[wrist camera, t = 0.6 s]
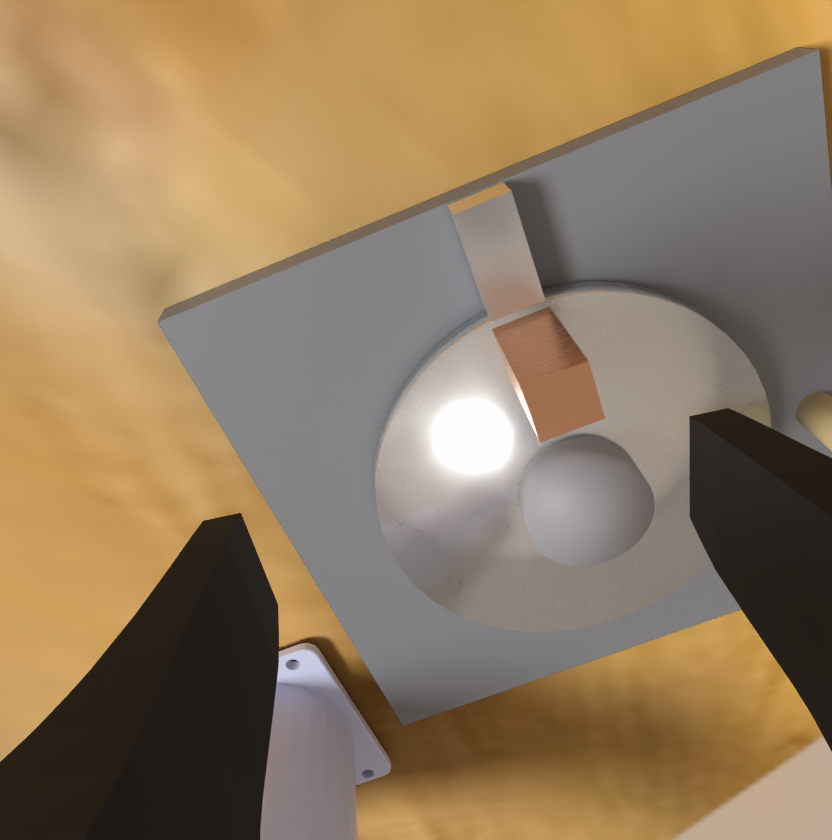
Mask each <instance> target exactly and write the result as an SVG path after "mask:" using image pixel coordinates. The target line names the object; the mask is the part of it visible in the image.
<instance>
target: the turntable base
mask: <svg viewBox="0 0 832 840" xmlns="http://www.w3.org/2000/svg"><path fill="white" fill-rule="evenodd" d="M502 182H503V183H504V184H505V185H506V186H507V187H508V188H509V189H510V190H511V191H512V194H513V197H514V200H515V204H516V207H517V210H518V213H519V217H520V220H521V223H522V226H523V230H524V233H525V236H526V239H527V243H528V246H529V249H530V252H531V256H532V259H533V262H534V265H535V269H536V272H537V275H538V278H539V281H540V285H541V288H544V287H549V286H554V285H559V284H564V283H575V282H589V281H600V282H617V283H625V284H630V285H635V286H640V287H646V288H649V289H652V290H655V291H658V292H661V293H663V294H666V295H669V296H672V297H674V298H676V299H678V300H679V301H681V302H683V303H685V304H687V305H689V306H691V307H692V308H694V309H695V310H697V311H698V312H699V313H701V314H702V315H703V316H705V317H706V318H707V319H708V320H710V321H711V322H712V323H714V324H715V325H716V326H717V327H718V328H720V329H721V330H722V331H723V332H724V333H726V334H727V335H728V336H729V337H730V338H731V339H732V340H733V341H734V342H735V343H736V345H737V346H738V347H739V348H740V349H741V350H742V351H743V352H744V353H745V355H746V356H747V358H748V359H749V361H750V362H751V364H752V365H753V367H754V368H755V370H756V372H757V374H758V376H759V378H760V381H761V383H762V385H763V388H764V390H765V393H766V397H767V401H768V405H769V410H770V415H771V428H772V429H774V430H776V431H778V432H780V433H782V434H784V435H786V436H788V437H790V438H792V439H794V440H796V441H798V442H800V443H802V444H804V445H806V446H808V447H810V448H812V449H814V450H816V451H818V452H820V453H822V454H824V455H826V456H828V457H831V458H832V189H831V177H830V166H829V154H828V143H827V131H826V120H825V108H824V97H823V85H822V74H821V62H820V51H819V50H818V49H808V48H794V49H792V50H790V51H787V52H785V53H782V54H780V55H778V56H775V57H773V58H770V59H768V60H765V61H763V62H761V63H758V64H756V65H753V66H751V67H749V68H746V69H744V70H741V71H739V72H736V73H734V74H732V75H729V76H727V77H724V78H722V79H720V80H717V81H715V82H712V83H710V84H707V85H705V86H703V87H700V88H698V89H695V90H693V91H690V92H688V93H686V94H683V95H681V96H678V97H676V98H674V99H671V100H669V101H666V102H664V103H661V104H659V105H657V106H654V107H652V108H649V109H647V110H645V111H642V112H640V113H637V114H635V115H632V116H630V117H628V118H625V119H623V120H620V121H618V122H616V123H613V124H611V125H608V126H606V127H603V128H601V129H599V130H596V131H594V132H591V133H589V134H586V135H584V136H582V137H579V138H577V139H574V140H572V141H570V142H567V143H565V144H562V145H560V146H557V147H555V148H553V149H550V150H548V151H545V152H543V153H541V154H538V155H536V156H533V157H531V158H528V159H526V160H524V161H521V162H519V163H516V164H514V165H511V166H509V167H507V168H504V169H502V170H499V171H497V172H495V173H492V174H490V175H487V176H485V177H482V178H480V179H478V180H475V181H473V182H470V183H468V184H466V185H463V186H461V187H458V188H456V189H453V190H451V191H449V192H446V193H444V194H441V195H439V196H437V197H434V198H432V199H429V200H427V201H424V202H422V203H420V204H417V205H415V206H412V207H410V208H407V209H405V210H403V211H400V212H398V213H395V214H393V215H391V216H388V217H386V218H383V219H381V220H378V221H376V222H374V223H371V224H369V225H366V226H364V227H362V228H359V229H357V230H354V231H352V232H349V233H347V234H345V235H342V236H340V237H337V238H335V239H333V240H330V241H328V242H325V243H323V244H320V245H318V246H316V247H313V248H311V249H308V250H306V251H303V252H301V253H299V254H296V255H294V256H291V257H289V258H287V259H284V260H282V261H279V262H277V263H274V264H272V265H270V266H267V267H265V268H262V269H260V270H258V271H255V272H253V273H250V274H248V275H245V276H243V277H241V278H238V279H236V280H233V281H231V282H229V283H226V284H224V285H221V286H219V287H216V288H214V289H212V290H209V291H207V292H204V293H202V294H199V295H197V296H195V297H192V298H190V299H187V300H185V301H183V302H180V303H178V304H175V305H173V306H170V307H168V308H166V309H164V311H163V312H162V314H161V316H160V318H159V320H158V322H157V323H158V325H159V326H160V328H161V330H162V331H163V333H164V335H165V336H166V338H167V339H168V341H169V343H170V344H171V346H172V348H173V349H174V351H175V353H176V354H177V356H178V358H179V359H180V361H181V362H182V364H183V366H184V367H185V369H186V371H187V372H188V374H189V376H190V377H191V379H192V381H193V382H194V384H195V385H196V387H197V389H198V390H199V392H200V394H201V395H202V397H203V399H204V400H205V402H206V403H207V405H208V407H209V408H210V410H211V412H212V413H213V415H214V417H215V418H216V420H217V422H218V423H219V425H220V426H221V428H222V430H223V431H224V433H225V435H226V436H227V438H228V440H229V441H230V443H231V445H232V446H233V448H234V449H235V451H236V453H237V454H238V456H239V458H240V459H241V461H242V463H243V464H244V466H245V468H246V469H247V471H248V472H249V474H250V476H251V477H252V479H253V481H254V482H255V484H256V486H257V487H258V489H259V490H260V492H261V494H262V495H263V497H264V499H265V500H266V502H267V504H268V505H269V507H270V509H271V510H272V512H273V513H274V515H275V517H276V518H277V520H278V522H279V523H280V525H281V527H282V528H283V530H284V532H285V533H286V535H287V536H288V538H289V540H290V541H291V543H292V545H293V546H294V548H295V550H296V551H297V553H298V554H299V556H300V558H301V559H302V561H303V563H304V564H305V566H306V568H307V569H308V571H309V573H310V574H311V576H312V577H313V579H314V581H315V582H316V584H317V586H318V587H319V589H320V591H321V592H322V594H323V596H324V597H325V599H326V600H327V602H328V604H329V605H330V607H331V609H332V610H333V612H334V614H335V615H336V617H337V618H338V620H339V622H340V623H341V625H342V627H343V628H344V630H345V632H346V633H347V635H348V637H349V638H350V640H351V641H352V643H353V645H354V646H355V648H356V650H357V651H358V653H359V655H360V656H361V658H362V660H363V661H364V663H365V664H366V666H367V668H368V669H369V671H370V673H371V674H372V676H373V678H374V679H375V681H376V682H377V684H378V686H379V687H380V689H381V691H382V692H383V694H384V696H385V697H386V699H387V701H388V702H389V704H390V705H391V707H392V709H393V710H394V712H395V714H396V715H397V717H398V719H399V720H400V722H401V724H402V725H403V726H405V725H408V724H410V723H413V722H416V721H419V720H422V719H425V718H428V717H431V716H434V715H437V714H439V713H442V712H445V711H448V710H451V709H454V708H457V707H460V706H463V705H466V704H468V703H471V702H474V701H477V700H480V699H483V698H486V697H489V696H492V695H495V694H497V693H500V692H503V691H506V690H509V689H512V688H515V687H518V686H521V685H524V684H526V683H529V682H532V681H535V680H538V679H541V678H544V677H547V676H550V675H553V674H555V673H558V672H561V671H564V670H567V669H570V668H573V667H576V666H579V665H582V664H584V663H587V662H590V661H593V660H596V659H599V658H602V657H605V656H608V655H611V654H613V653H616V652H619V651H622V650H625V649H628V648H631V647H634V646H637V645H639V644H642V643H645V642H648V641H651V640H654V639H657V638H660V637H663V636H666V635H668V634H671V633H674V632H677V631H680V630H683V629H686V628H689V627H692V626H695V625H697V624H700V623H703V622H706V621H709V620H712V619H715V618H718V617H721V616H724V615H726V614H729V613H732V612H735V611H738V610H741V608H740V606H739V605H738V603H737V602H736V600H735V599H734V597H733V596H732V594H731V593H730V591H729V590H728V588H727V587H726V585H725V584H724V582H723V581H722V579H721V578H720V576H719V575H718V573H717V572H716V570H715V568H714V566H713V564H712V562H711V563H710V564H709V565H708V566H707V567H706V568H705V569H704V570H703V571H702V572H700V573H699V574H698V575H696V576H695V577H694V578H693V579H691V580H690V581H689V582H687V583H686V584H685V585H684V586H682V587H681V588H679V589H677V590H676V591H674V592H673V593H671V594H670V595H668V596H666V597H665V598H663V599H661V600H659V601H657V602H656V603H654V604H652V605H650V606H648V607H646V608H644V609H642V610H639V611H637V612H634V613H632V614H629V615H627V616H624V617H622V618H619V619H616V620H612V621H609V622H606V623H602V624H599V625H595V626H590V627H585V628H580V629H575V630H565V631H556V632H525V631H515V630H506V629H501V628H497V627H492V626H487V625H484V624H481V623H478V622H475V621H472V620H468V619H466V618H464V617H461V616H459V615H457V614H455V613H453V612H451V611H449V610H447V609H445V608H444V607H442V606H441V605H439V604H437V603H436V602H434V601H433V600H431V599H430V598H429V597H427V596H426V595H425V594H424V593H423V592H422V591H420V590H419V589H418V588H417V587H416V586H415V585H414V584H413V583H412V582H411V581H410V580H409V578H408V577H407V576H406V575H405V574H404V573H403V572H402V570H401V569H400V567H399V566H398V564H397V563H396V561H395V559H394V558H393V556H392V555H391V553H390V551H389V548H388V546H387V544H386V541H385V539H384V537H383V534H382V530H381V526H380V522H379V518H378V514H377V504H376V493H375V480H374V466H375V453H376V447H377V443H378V439H379V435H380V430H381V427H382V424H383V422H384V419H385V417H386V414H387V412H388V409H389V407H390V405H391V403H392V401H393V399H394V398H395V396H396V394H397V392H398V390H399V389H400V387H401V385H402V383H403V382H404V381H405V379H406V378H407V377H408V375H409V374H410V373H411V371H412V370H413V369H414V367H415V366H416V365H417V363H418V362H419V361H420V360H421V359H422V358H423V357H424V356H425V355H426V354H427V353H428V352H429V351H430V350H431V349H432V348H433V347H434V346H435V345H436V344H437V343H438V342H439V341H440V340H442V339H443V338H444V337H445V336H447V335H448V334H449V333H450V332H452V331H453V330H454V329H455V328H457V327H458V326H459V325H461V324H462V323H464V322H465V321H467V320H469V319H470V318H472V317H473V316H475V315H477V314H478V313H480V312H482V311H483V310H485V309H484V306H483V303H482V301H481V298H480V295H479V292H478V289H477V286H476V284H475V281H474V278H473V275H472V272H471V270H470V267H469V264H468V261H467V258H466V256H465V253H464V250H463V247H462V244H461V242H460V239H459V236H458V233H457V230H456V228H455V225H454V222H453V219H452V216H451V214H450V211H449V208H448V205H449V204H451V203H454V202H456V201H459V200H461V199H464V198H466V197H468V196H471V195H473V194H476V193H478V192H481V191H483V190H485V189H488V188H490V187H493V186H495V185H498V184H500V183H502ZM518 500H519V505H520V509H521V512H522V514H523V517H524V520H525V522H526V525H527V527H528V530H529V533H530V535H531V538H532V540H533V542H534V544H535V546H536V547H537V549H538V550H539V551H540V552H541V553H542V554H543V555H545V556H546V557H547V558H549V559H551V560H553V561H555V562H557V563H560V564H564V565H568V566H592V565H597V564H601V563H604V562H608V561H610V560H612V559H615V558H617V557H618V556H620V555H622V554H624V553H625V552H627V551H628V550H629V549H631V548H632V547H633V546H634V545H635V544H636V543H637V542H638V541H639V540H640V539H641V538H642V537H643V535H644V534H645V533H646V531H647V529H648V528H649V526H650V523H651V521H652V518H653V515H654V509H655V500H654V495H653V492H652V489H651V487H650V485H649V484H648V482H647V480H646V479H645V477H644V476H643V474H642V473H641V471H640V470H639V468H638V467H637V465H636V464H635V462H634V461H633V459H632V458H631V456H630V455H629V454H628V453H627V451H626V450H625V449H623V448H622V447H621V446H620V445H618V444H616V443H615V442H612V441H610V440H607V439H604V438H600V437H590V436H585V437H576V438H571V439H567V440H564V441H561V442H559V443H557V444H554V445H553V446H551V447H549V448H547V449H546V450H545V451H543V452H542V453H540V454H539V455H538V456H537V457H536V458H535V459H534V460H533V461H532V462H531V464H530V465H529V466H528V468H527V469H526V471H525V472H524V474H523V476H522V479H521V482H520V485H519V490H518Z"/></svg>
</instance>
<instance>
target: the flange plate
mask: <svg viewBox="0 0 832 840" xmlns="http://www.w3.org/2000/svg"><path fill="white" fill-rule="evenodd" d="M448 208H449V211H450V214H451V216H452V219H453V222H454V225H455V228H456V230H457V233H458V236H459V239H460V242H461V244H462V247H463V250H464V253H465V256H466V258H467V261H468V264H469V267H470V270H471V272H472V275H473V278H474V281H475V284H476V286H477V289H478V292H479V295H480V298H481V301H482V303H483V306H484V309H485V310H483V311H482V312H480V313H478V314H477V315H475V316H473V317H472V318H470V319H469V320H467V321H465V322H464V323H462V324H461V325H459V326H458V327H457V328H455V329H454V330H453V331H452V332H450V333H449V334H448V335H447V336H445V337H444V338H443V339H442V340H440V341H439V342H438V343H437V344H436V345H435V346H434V347H433V348H432V349H431V350H430V351H429V352H428V353H427V354H426V355H425V356H424V357H423V358H422V359H421V360H420V361H419V362H418V363H417V365H416V366H415V367H414V369H413V370H412V371H411V373H410V374H409V375H408V377H407V378H406V379H405V381H404V382H403V383H402V385H401V387H400V389H399V390H398V392H397V394H396V396H395V398H394V399H393V401H392V403H391V405H390V407H389V409H388V412H387V414H386V417H385V419H384V422H383V424H382V427H381V430H380V435H379V439H378V443H377V447H376V453H375V466H374V480H375V493H376V504H377V514H378V518H379V522H380V526H381V530H382V534H383V537H384V539H385V541H386V544H387V546H388V548H389V551H390V553H391V555H392V556H393V558H394V559H395V561H396V563H397V564H398V566H399V567H400V569H401V570H402V572H403V573H404V574H405V575H406V576H407V577H408V578H409V580H410V581H411V582H412V583H413V584H414V585H415V586H416V587H417V588H418V589H419V590H420V591H422V592H423V593H424V594H425V595H426V596H427V597H429V598H430V599H431V600H433V601H434V602H436V603H437V604H439V605H441V606H442V607H444V608H445V609H447V610H449V611H451V612H453V613H455V614H457V615H459V616H461V617H464V618H466V619H468V620H472V621H475V622H478V623H481V624H484V625H487V626H492V627H497V628H501V629H506V630H515V631H525V632H556V631H565V630H575V629H580V628H585V627H590V626H595V625H599V624H602V623H606V622H609V621H612V620H616V619H619V618H622V617H624V616H627V615H629V614H632V613H634V612H637V611H639V610H642V609H644V608H646V607H648V606H650V605H652V604H654V603H656V602H657V601H659V600H661V599H663V598H665V597H666V596H668V595H670V594H671V593H673V592H674V591H676V590H677V589H679V588H681V587H682V586H684V585H685V584H686V583H687V582H689V581H690V580H691V579H693V578H694V577H695V576H696V575H698V574H699V573H700V572H702V571H703V570H704V569H705V568H706V567H707V566H708V565H709V564H710V563H711V560H710V558H709V556H708V554H707V552H706V550H705V549H704V547H703V544H702V542H701V540H700V538H699V536H698V534H697V532H696V530H695V528H694V526H693V524H692V521H691V519H690V427H689V416H693V415H698V414H703V413H707V412H712V411H717V410H721V409H726V408H729V409H732V410H734V411H736V412H738V413H741V414H743V415H745V416H747V417H749V418H751V419H753V420H755V421H757V422H759V423H761V424H763V425H766V426H768V427H770V428H771V415H770V410H769V405H768V401H767V397H766V393H765V390H764V388H763V385H762V383H761V381H760V378H759V376H758V374H757V372H756V370H755V368H754V367H753V365H752V364H751V362H750V361H749V359H748V358H747V356H746V355H745V353H744V352H743V351H742V350H741V349H740V348H739V347H738V346H737V345H736V343H735V342H734V341H733V340H732V339H731V338H730V337H729V336H728V335H727V334H726V333H724V332H723V331H722V330H721V329H720V328H718V327H717V326H716V325H715V324H714V323H712V322H711V321H710V320H708V319H707V318H706V317H705V316H703V315H702V314H701V313H699V312H698V311H697V310H695V309H694V308H692V307H691V306H689V305H687V304H685V303H683V302H681V301H679V300H678V299H676V298H674V297H672V296H669V295H666V294H663V293H661V292H658V291H655V290H652V289H649V288H646V287H640V286H635V285H630V284H625V283H617V282H600V281H589V282H575V283H564V284H559V285H554V286H549V287H544V288H541V285H540V281H539V278H538V275H537V272H536V269H535V265H534V262H533V259H532V256H531V252H530V249H529V246H528V243H527V239H526V236H525V233H524V230H523V226H522V223H521V220H520V217H519V213H518V210H517V207H516V204H515V200H514V197H513V194H512V191H511V190H510V189H509V188H508V187H507V186H506V185H505V184H504V183H503V182H502V183H500V184H498V185H495V186H493V187H490V188H488V189H485V190H483V191H481V192H478V193H476V194H473V195H471V196H468V197H466V198H464V199H461V200H459V201H456V202H454V203H451V204H449V205H448ZM585 436H590V437H600V438H604V439H607V440H610V441H612V442H615V443H616V444H618V445H620V446H621V447H622V448H623V449H625V450H626V451H627V453H628V454H629V455H630V456H631V458H632V459H633V461H634V462H635V464H636V465H637V467H638V468H639V470H640V471H641V473H642V474H643V476H644V477H645V479H646V480H647V482H648V484H649V485H650V487H651V489H652V492H653V495H654V500H655V509H654V515H653V518H652V521H651V523H650V526H649V528H648V529H647V531H646V533H645V534H644V535H643V537H642V538H641V539H640V540H639V541H638V542H637V543H636V544H635V545H634V546H633V547H632V548H631V549H629V550H628V551H627V552H625V553H624V554H622V555H620V556H618V557H617V558H615V559H612V560H610V561H608V562H604V563H601V564H597V565H592V566H568V565H564V564H560V563H557V562H555V561H553V560H551V559H549V558H547V557H546V556H545V555H543V554H542V553H541V552H540V551H539V550H538V549H537V547H536V546H535V544H534V542H533V540H532V538H531V535H530V533H529V530H528V527H527V525H526V522H525V520H524V517H523V514H522V512H521V509H520V505H519V500H518V490H519V485H520V482H521V479H522V476H523V474H524V472H525V471H526V469H527V468H528V466H529V465H530V464H531V462H532V461H533V460H534V459H535V458H536V457H537V456H538V455H539V454H540V453H542V452H543V451H545V450H546V449H547V448H549V447H551V446H553V445H554V444H557V443H559V442H561V441H564V440H567V439H571V438H576V437H585Z"/></svg>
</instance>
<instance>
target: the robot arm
mask: <svg viewBox="0 0 832 840" xmlns="http://www.w3.org/2000/svg"><path fill="white" fill-rule="evenodd" d="M689 427H690V519H691V521H692V524H693V526H694V528H695V530H696V532H697V534H698V536H699V538H700V540H701V542H702V544H703V547H704V549H705V550H706V552H707V554H708V556H709V558H710V560H711V562H712V564H713V566H714V568H715V570H716V572H717V573H718V575H719V576H720V578H721V579H722V581H723V582H724V584H725V585H726V587H727V588H728V590H729V591H730V593H731V594H732V596H733V597H734V599H735V600H736V602H737V603H738V605H739V606H740V608H741V609H742V611H743V612H744V614H745V615H746V617H747V618H748V620H749V621H750V622H751V624H752V625H753V627H754V628H755V630H756V631H757V633H758V634H759V636H760V637H761V639H762V640H763V642H764V643H765V644H766V646H767V647H768V649H769V650H770V652H771V653H772V655H773V656H774V658H775V659H776V661H777V662H778V663H779V665H780V666H781V668H782V669H783V671H784V672H785V674H786V675H787V677H788V678H789V680H790V681H791V683H792V684H793V685H794V687H795V688H796V690H797V692H798V693H799V695H800V697H801V698H802V700H803V701H804V703H805V705H806V706H807V708H808V709H809V711H810V713H811V714H812V716H813V718H814V720H815V721H816V723H817V725H818V727H819V729H820V731H821V733H822V734H823V736H824V738H825V740H826V742H827V744H828V745H829V747H830V749H831V751H832V458H831V457H828V456H826V455H824V454H822V453H820V452H818V451H816V450H814V449H812V448H810V447H808V446H806V445H804V444H802V443H800V442H798V441H796V440H794V439H792V438H790V437H788V436H786V435H784V434H782V433H780V432H778V431H776V430H774V429H772V428H770V427H768V426H766V425H763V424H761V423H759V422H757V421H755V420H753V419H751V418H749V417H747V416H745V415H743V414H741V413H738V412H736V411H734V410H732V409H729V408H726V409H721V410H717V411H712V412H707V413H703V414H698V415H693V416H689ZM293 659H294V660H297V661H294V662H292V661H289V660H293ZM390 770H391V761H390V758H389V757H388V755H387V754H386V752H385V751H384V749H383V747H382V746H381V744H380V743H379V741H378V740H377V738H376V737H375V735H374V734H373V732H372V730H371V729H370V727H369V726H368V724H367V723H366V721H365V720H364V718H363V717H362V715H361V713H360V712H359V710H358V709H357V707H356V706H355V704H354V703H353V701H352V700H351V698H350V696H349V695H348V693H347V692H346V690H345V689H344V687H343V686H342V684H341V683H340V681H339V679H338V678H337V676H336V675H335V673H334V672H333V670H332V669H331V667H330V666H329V664H328V662H327V661H326V659H325V658H324V656H323V655H322V653H321V652H320V650H319V649H318V648H317V647H316V646H315V645H313V644H311V643H302V644H299V645H296V646H293V647H290V648H287V649H285V650H282V651H279V626H278V604H277V601H276V599H275V596H274V594H273V591H272V589H271V587H270V584H269V582H268V579H267V577H266V574H265V572H264V569H263V567H262V564H261V562H260V559H259V557H258V554H257V552H256V549H255V547H254V545H253V542H252V540H251V537H250V535H249V532H248V530H247V527H246V525H245V522H244V520H243V517H242V515H241V513H238V514H233V515H229V516H224V517H219V518H215V519H210V520H205V521H203V522H202V523H201V525H200V526H199V527H198V529H197V530H196V531H195V533H194V534H193V535H192V537H191V538H190V540H189V541H188V542H187V544H186V545H185V547H184V548H183V549H182V551H181V552H180V554H179V555H178V557H177V558H176V559H175V561H174V562H173V564H172V565H171V566H170V568H169V569H168V571H167V572H166V573H165V575H164V576H163V578H162V579H161V580H160V582H159V583H158V584H157V586H156V587H155V589H154V590H153V591H152V593H151V594H150V595H149V597H148V598H147V599H146V601H145V602H144V603H143V605H142V606H141V608H140V609H139V610H138V612H137V613H136V614H135V616H134V617H133V618H132V619H131V621H130V622H129V623H128V624H127V626H126V627H125V628H124V629H123V630H122V632H121V633H120V634H119V635H118V637H117V638H116V639H115V640H114V642H113V643H112V644H111V645H110V647H109V648H108V649H107V650H106V651H105V653H104V654H103V655H102V656H101V658H100V659H99V660H98V661H97V663H96V664H95V665H94V666H93V667H92V669H91V670H90V671H89V672H88V673H87V674H86V676H85V677H84V678H83V679H82V680H81V681H80V682H79V683H78V685H77V686H76V687H75V688H74V689H73V690H72V691H71V692H70V693H69V694H68V696H67V697H66V698H65V699H64V700H63V701H62V702H61V703H60V704H59V705H58V706H57V707H56V708H55V709H54V710H53V711H52V712H51V713H50V714H49V715H48V717H47V718H46V719H45V720H44V721H43V722H42V723H41V724H40V725H39V726H38V727H37V728H36V729H35V730H34V731H33V732H32V733H31V734H30V735H29V736H28V737H27V738H26V739H25V740H24V741H22V742H21V743H20V744H19V745H18V746H17V747H16V748H15V749H14V750H13V751H12V752H11V753H10V754H8V755H7V756H6V757H5V758H4V759H3V760H2V761H1V762H0V840H358V829H357V800H356V785H359V784H362V783H365V782H368V781H371V780H374V779H377V778H380V777H383V776H385V775H387V774H388V773H389V772H390Z"/></svg>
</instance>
